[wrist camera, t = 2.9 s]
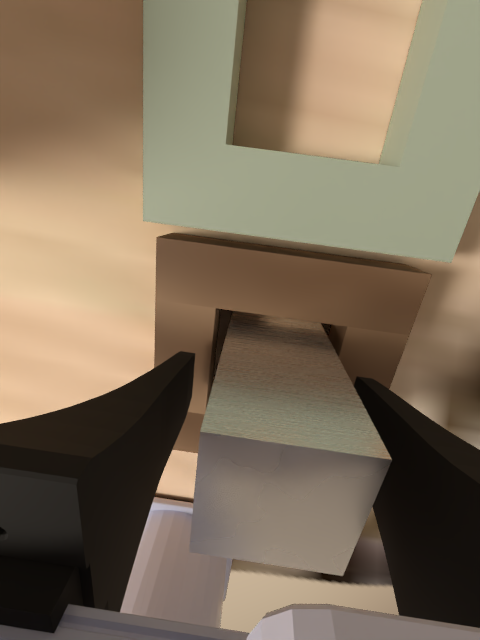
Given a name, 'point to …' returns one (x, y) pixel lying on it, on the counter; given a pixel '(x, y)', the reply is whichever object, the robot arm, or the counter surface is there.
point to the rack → (305, 170)
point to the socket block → (279, 306)
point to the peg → (284, 451)
